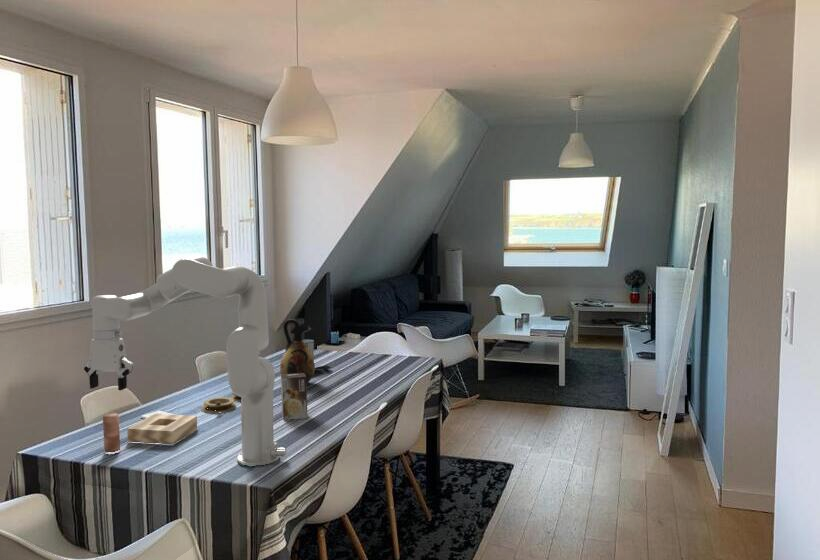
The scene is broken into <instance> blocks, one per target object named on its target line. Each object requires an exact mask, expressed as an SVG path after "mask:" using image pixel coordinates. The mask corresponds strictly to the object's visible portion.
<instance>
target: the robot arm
mask: <svg viewBox="0 0 820 560" xmlns="http://www.w3.org/2000/svg"><path fill="white" fill-rule="evenodd" d="M190 291H194V292H197V293H201V294H204V295H207V296H211V297H214V298H218V299H227V298H231V297H234V296H238V306H237V315H238V328H236V329H234V330H233V331H232V332H231V333H230V334H229V336H228V337H227V340H226V345H225V346H226V347H225V348H226V349H225V350H226V352H225V354H226V365H227V366H226V368H227V379H228V385H229V389H230V390H231V392H232V393H233V392H234V394H236V395H237V396H239V397H241V402H240V417H241V419H240V421H241V425H240V426H241V452H240V453H239V454H238V455H237V456H236V461H238V462H239V463H241V464H244V465H264V466H266V465H265V464H268V465H271V464H273V463H276V462H277V461H278V460H279V459H280V457H286V456H287V450H286V448H285V447H278V442H275V441H274V440H275V435H274V434H275V433H274V386H275V380H276V379H275V378H276V376H275V375H276V374H275V373H276V372H275V368H274V365H273V363H272V362H271V361H270V360H269V359H267V358H265V357H262V356H260V354H261V353H262V352H264V351H265V350H266V349H267V348H268V345H269V344H270V343H269V342H270V332H269V321H268V318H269V317H268V308H267V293H266V292H267V291H266V287H265V284H264V282H263V280H262V279H261V277H260V276H259V275H258V274H257V272H255V271H254V270H252V269H249V268H247V267H243V266H230V267H225V268H220V267H217V266H214V265H213V263H212V261H210V260H209V259H208V258H206V257H204V256H190V257H184V258H181V259H178V260H177V261H176V262H175V263H174V265H173V266H172V268H170V269H169V270H166V271H165V272H163V273H161V274H160V275H158V276H157V278H156V282H155V283H154V284H153V285H151V286H150V287H148V288H146V289H144V290H142V291H139V292H137V293H133V294H128V295H123V296H119V297H118V295H115V294H103V295H101V294H100V295H99V294H98V295H95V296H94V297H93V298H92V299H91V300H92V301H91V305H92V306H91V309H92V310H91V311H92V335H93V336H92V339H91V340H90V341H91V342H90V348H89V356H88V357H87V358H85V359H83V360H82V361H81V362H80V363H81V365H82V367H83V370H84V372H85V373H87V374H86V375H87V376H88V377H89V389H90V390H91V389H95V388H97V387H99V385H100V383H99V373H98V372H108V373H109V372H111V373H112V372H115V373H116V374H117V375H118V378H117V387H118V388H117V390H118V391H123V390H124V389H126V388H127V386H128V385H127V384H128V380H127V377H128V376H129V374H131V372H132V370H133V368H134V366H135V363H134V362H132V361H130V360H129V359H128V358H127V354H126V353H127V351H126V346H125V342H124V339H123V338H122V336H123V335H124V332H123V331H121V323H120V322H128V321H132V320H135V319H138V318H142V317H145V316H147V315H149V314H152V313H153V312H155V311H157V310H159V309H162V308H163V307H164V306H166V305H168V304H170V303H171V302H173V301H175V300H176V299H178V298H180V297H182V296H183V295H185V294H187V293H189V292H190ZM238 462H237V463H238ZM239 463H238V464H239ZM270 463H271V464H270ZM241 464H240V465H241ZM244 465H243V466H244Z"/></svg>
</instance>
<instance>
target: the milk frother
mask: <svg viewBox="0 0 820 560" xmlns="http://www.w3.org/2000/svg"><path fill="white" fill-rule="evenodd" d="M302 340H303V342H304V343H305V345H306V346H307V348H308V349H309V351H310V353H311V354H312V357H313V360H315V359H314V358H315V356H314V355H315V353H314V345H315V343H314V342H315V340H314V339H302ZM328 369H331V366H330V365H328V364H325V365H321V366H319V365H318V366H316V367H315V370H324V371H328Z"/></svg>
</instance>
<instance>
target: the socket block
mask: <svg viewBox="0 0 820 560" xmlns="http://www.w3.org/2000/svg"><path fill="white" fill-rule="evenodd" d="M195 430H196V431H198V416H197V415H185V414H175V415H169V414H154V415H152V416H150V417H148V418H146V419H142V420H141V421H139V422H137V423H135V424H134V425H132V426H130V427H128V428H127V433H126V434H127V443H128V442H144V443H161V444H174V443H176V442H177V441H179V440H181V439H183V438H184V437H186V436H187V437H189V436H190V435H192V434H193V433H195V432H196V431H195ZM194 431H195V432H194ZM192 432H193V433H192ZM191 433H192V434H191ZM189 434H190V435H189ZM188 435H189V436H188ZM187 437H186V438H187ZM184 439H185V438H184ZM184 439H183V440H184ZM181 441H182V440H181Z"/></svg>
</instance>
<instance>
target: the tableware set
mask: <svg viewBox="0 0 820 560" xmlns="http://www.w3.org/2000/svg"><path fill="white" fill-rule="evenodd" d="M236 401H241V397H239V396H237V395H236V394H234V392H233V391H232V396H231V397H213V398H209V399H208V398H207V399H205V400H204V401H203V406H201V408H200V410H202V411H203V413H205V412H207V413H206V414H220V413H219V412H224V413H227V412H226V411H229V412H231V410H232V411H234V410H235V409H236V408H237V404H236V403H235V402H236ZM229 406H230V407H229ZM207 408H208V409H207ZM233 409H234V410H233ZM215 410H216V411H215ZM202 411H201V412H202Z"/></svg>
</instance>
